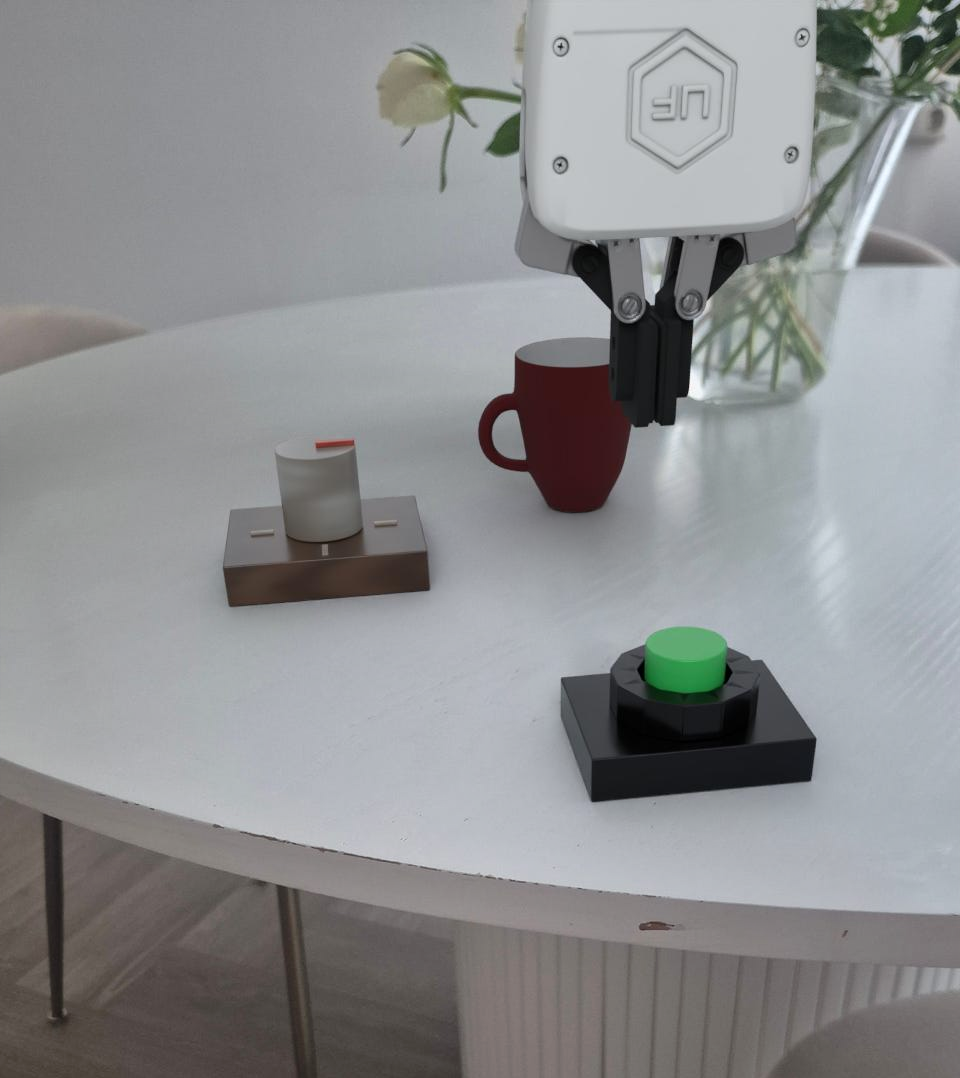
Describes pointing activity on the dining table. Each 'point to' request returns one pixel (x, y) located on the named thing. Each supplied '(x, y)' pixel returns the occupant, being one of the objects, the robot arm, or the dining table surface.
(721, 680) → the light button
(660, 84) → the robot arm
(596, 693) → the switch block
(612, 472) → the mug
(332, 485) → the dimmer knob
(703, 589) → the dining table surface
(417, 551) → the dimmer panel
